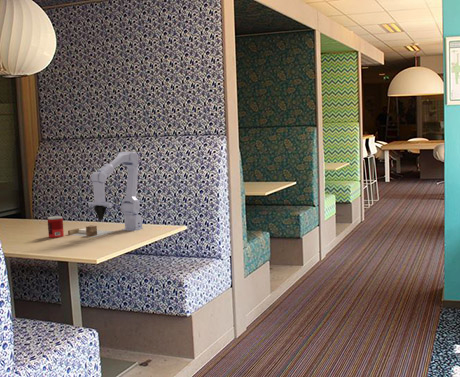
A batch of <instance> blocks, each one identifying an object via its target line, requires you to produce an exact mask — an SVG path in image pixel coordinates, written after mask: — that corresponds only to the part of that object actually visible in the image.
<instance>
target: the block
mask: <svg viewBox="0 0 460 377" xmlns="http://www.w3.org/2000/svg"><path fill="white" fill-rule="evenodd" d="M85 228H86V236H85V237H88V236H95V235H97V230H98V227H97V225H88V226H87V225H86V226H85Z"/></svg>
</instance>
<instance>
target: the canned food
mask: <svg viewBox="0 0 460 377" xmlns="http://www.w3.org/2000/svg"><path fill="white" fill-rule="evenodd" d="M47 227H48V228H47V229H48V232H47V233H48V238H49V239H58V238H63V237H64V236H65V235H64V231H65V230H64V218H63V216H61V215H56V216H48V217H47Z"/></svg>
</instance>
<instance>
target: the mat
mask: <svg viewBox="0 0 460 377" xmlns="http://www.w3.org/2000/svg"><path fill="white" fill-rule="evenodd" d="M115 232H116V231H115V230H101V229H100V230H99V229H97V235H95V236H86V234H83V233H77V234H73V235H72V236H77V237H87V238H88V237H89V238H90V237H91V238H97V237H101V236H105V235H108V234H112V233H115Z"/></svg>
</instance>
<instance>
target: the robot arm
mask: <svg viewBox="0 0 460 377" xmlns="http://www.w3.org/2000/svg"><path fill="white" fill-rule="evenodd" d="M139 158H140V157H139V154H138V153H137V151H120V152H118V154H117V155H116V157H115V158H114V159H113V160H112V161H111V162H110V163H104V164H103V166H101V168H99V169H97V171H94V172H92V174H91V176H90V181H91V183H92V186H93V200H94V201H89V202H87V203H88V207H93V210H94V211H95V213H96V215H97V218H98V221H103V220H104V217H105V213H106V211H107V209H108V208H112V207H113V203H112V202H108V201H106V189H105V182H107V179H108V177H109V176H110V175H111V174H113V173H114V172H115V171H114V170H115V169H116V168H117V167H119V166H120V165H121V164H123V166H125V167H126V168H127V170H128V172H127V180H126V182H127V183H126V192H125V194H126V195H125V197H124V198H123V199H122V202H121V204H120V211H121V213H122V214H123V215H124V217H123V218H124V228H122V229H121V231H130V232H132V231H133V232H135V231H139V230H144V227H143V217H142V215H141V214H139V213H140V209H141V206H140V200H139V199H138V198H137V190H138V189H137V187H138V176H139V174H138V173H139Z"/></svg>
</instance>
